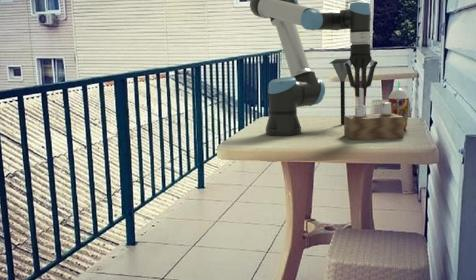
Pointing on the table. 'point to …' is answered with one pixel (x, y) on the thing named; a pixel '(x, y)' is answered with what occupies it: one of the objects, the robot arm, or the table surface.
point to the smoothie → (399, 103)
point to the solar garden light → (341, 82)
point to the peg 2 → (385, 109)
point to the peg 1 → (360, 111)
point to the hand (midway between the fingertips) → (360, 105)
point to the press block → (374, 127)
